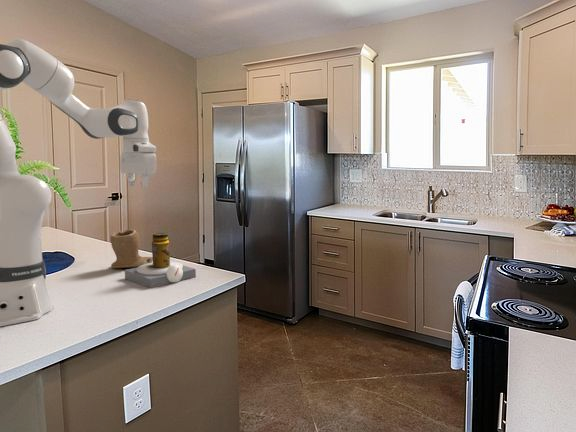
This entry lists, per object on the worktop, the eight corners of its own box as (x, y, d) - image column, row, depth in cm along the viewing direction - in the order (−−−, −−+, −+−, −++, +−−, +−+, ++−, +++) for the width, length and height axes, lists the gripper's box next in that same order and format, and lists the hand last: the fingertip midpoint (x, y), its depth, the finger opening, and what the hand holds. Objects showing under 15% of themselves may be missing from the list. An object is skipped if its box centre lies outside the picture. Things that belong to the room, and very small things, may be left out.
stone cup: (107, 271, 167) (104, 233, 165) (115, 264, 179) (113, 228, 177) (148, 270, 169) (146, 232, 167) (153, 263, 181) (152, 227, 179)
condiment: (173, 267, 158) (172, 234, 156) (150, 270, 153) (148, 236, 152) (167, 263, 164) (165, 231, 162) (144, 266, 159) (142, 233, 157)
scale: (152, 288, 145) (151, 270, 145) (125, 278, 158) (124, 261, 158) (197, 277, 158) (197, 260, 158) (168, 268, 172) (168, 253, 171)
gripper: (114, 147, 160) (116, 185, 162) (141, 146, 146) (143, 188, 148) (130, 148, 165) (132, 185, 167) (159, 147, 151) (160, 187, 152)
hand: (137, 186), depth 157 cm, fingers open, 8 cm apart
